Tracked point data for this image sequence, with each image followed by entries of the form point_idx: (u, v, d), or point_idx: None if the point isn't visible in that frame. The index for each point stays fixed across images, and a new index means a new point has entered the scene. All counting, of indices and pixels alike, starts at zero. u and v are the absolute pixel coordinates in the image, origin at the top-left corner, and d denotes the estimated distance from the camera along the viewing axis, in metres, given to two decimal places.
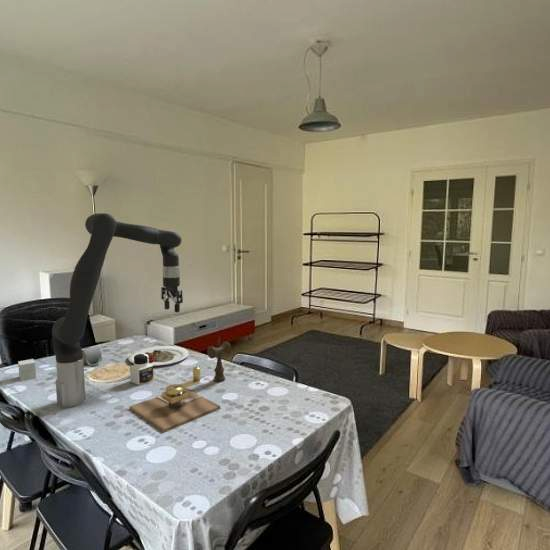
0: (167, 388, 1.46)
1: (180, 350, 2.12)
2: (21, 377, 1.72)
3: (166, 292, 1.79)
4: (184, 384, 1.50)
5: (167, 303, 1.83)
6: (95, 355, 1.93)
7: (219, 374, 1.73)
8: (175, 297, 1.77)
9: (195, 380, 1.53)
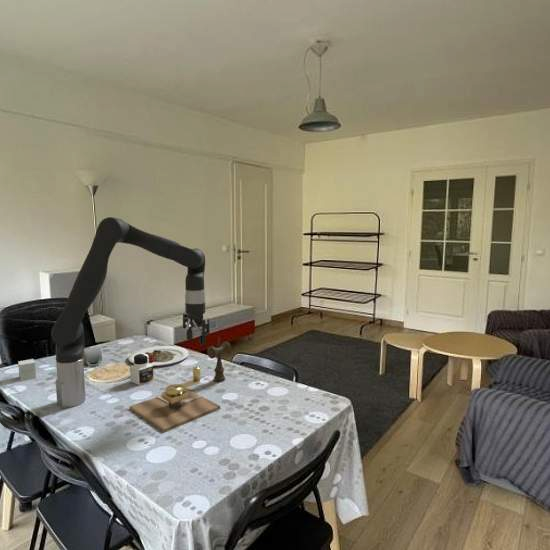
0: (167, 388, 1.46)
1: (180, 350, 2.12)
2: (21, 377, 1.72)
3: (189, 320, 1.50)
4: (184, 384, 1.50)
5: (190, 333, 1.54)
6: (95, 355, 1.93)
7: (219, 374, 1.73)
8: (200, 327, 1.48)
9: (195, 380, 1.53)
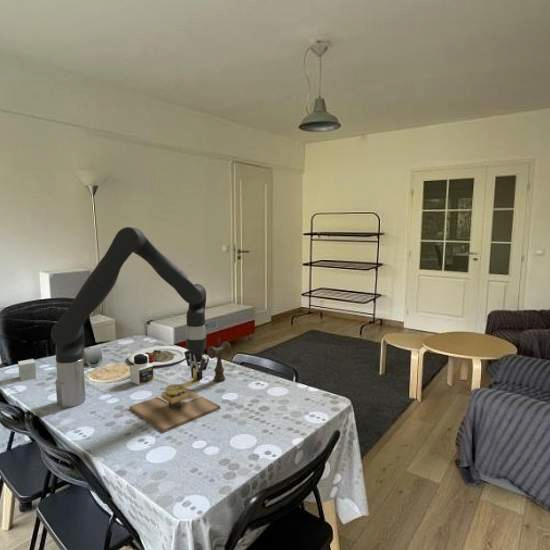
0: (167, 388, 1.46)
1: (180, 350, 2.12)
2: (21, 377, 1.72)
3: (190, 355, 1.52)
4: (184, 384, 1.50)
5: None
6: (95, 356, 1.92)
7: (219, 374, 1.73)
8: (199, 363, 1.51)
9: (195, 380, 1.53)
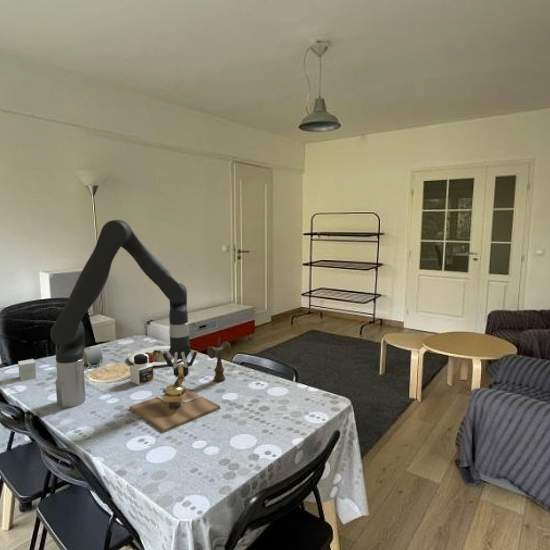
0: (169, 390, 1.45)
1: None
2: (21, 377, 1.72)
3: (176, 354, 1.53)
4: (177, 383, 1.51)
5: (177, 369, 1.56)
6: (96, 356, 1.91)
7: (219, 374, 1.73)
8: (186, 359, 1.56)
9: (182, 377, 1.56)
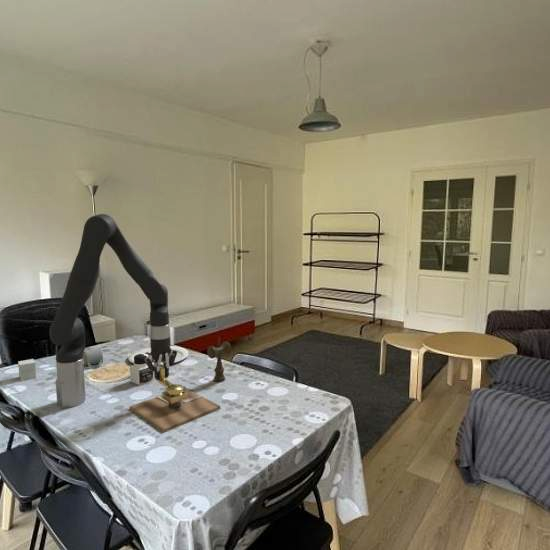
0: (174, 390, 1.44)
1: (180, 350, 2.12)
2: (21, 377, 1.72)
3: (161, 356, 1.51)
4: (169, 384, 1.50)
5: None
6: (96, 357, 1.91)
7: (219, 374, 1.73)
8: None
9: (164, 379, 1.54)
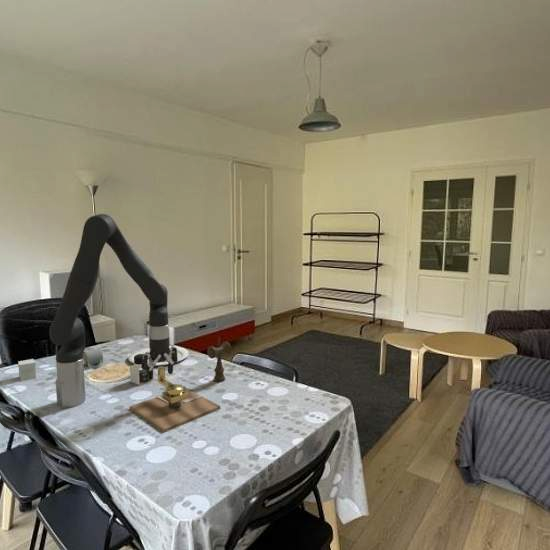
0: (174, 390, 1.44)
1: (180, 350, 2.12)
2: (21, 377, 1.72)
3: (159, 357, 1.50)
4: (169, 384, 1.50)
5: None
6: (96, 357, 1.91)
7: (219, 374, 1.73)
8: None
9: (164, 379, 1.54)
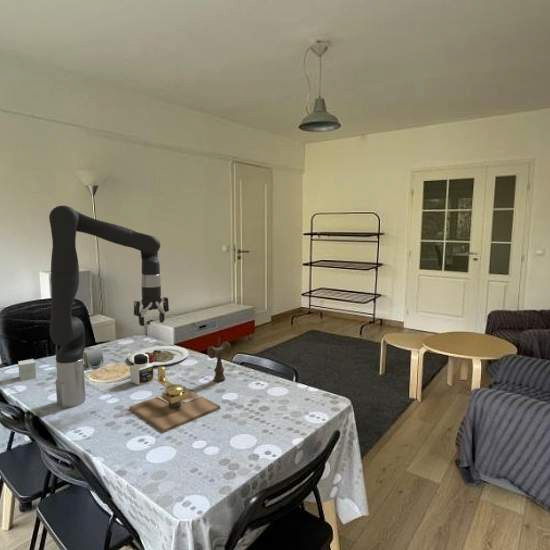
0: (174, 390, 1.44)
1: (180, 350, 2.12)
2: (21, 377, 1.72)
3: (151, 304, 1.58)
4: (169, 384, 1.50)
5: None
6: (97, 357, 1.90)
7: (219, 374, 1.73)
8: None
9: (164, 379, 1.54)
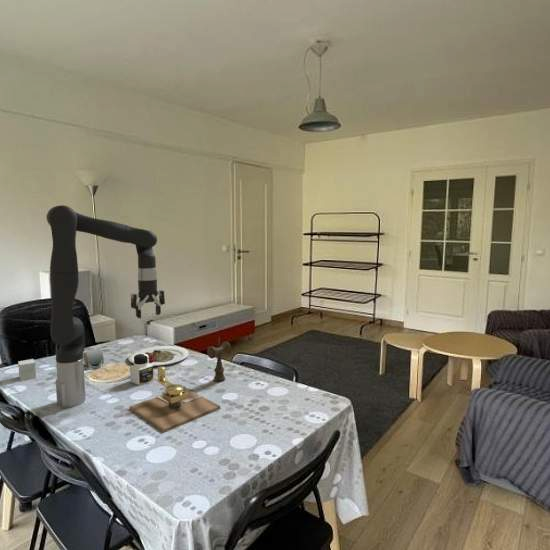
0: (174, 390, 1.44)
1: (180, 350, 2.12)
2: (21, 377, 1.72)
3: (147, 297, 1.63)
4: (169, 384, 1.50)
5: None
6: (97, 357, 1.90)
7: (219, 374, 1.73)
8: None
9: (164, 379, 1.54)
